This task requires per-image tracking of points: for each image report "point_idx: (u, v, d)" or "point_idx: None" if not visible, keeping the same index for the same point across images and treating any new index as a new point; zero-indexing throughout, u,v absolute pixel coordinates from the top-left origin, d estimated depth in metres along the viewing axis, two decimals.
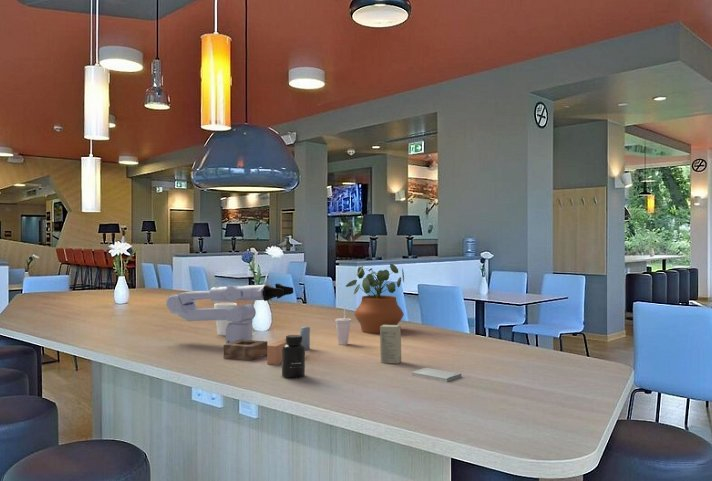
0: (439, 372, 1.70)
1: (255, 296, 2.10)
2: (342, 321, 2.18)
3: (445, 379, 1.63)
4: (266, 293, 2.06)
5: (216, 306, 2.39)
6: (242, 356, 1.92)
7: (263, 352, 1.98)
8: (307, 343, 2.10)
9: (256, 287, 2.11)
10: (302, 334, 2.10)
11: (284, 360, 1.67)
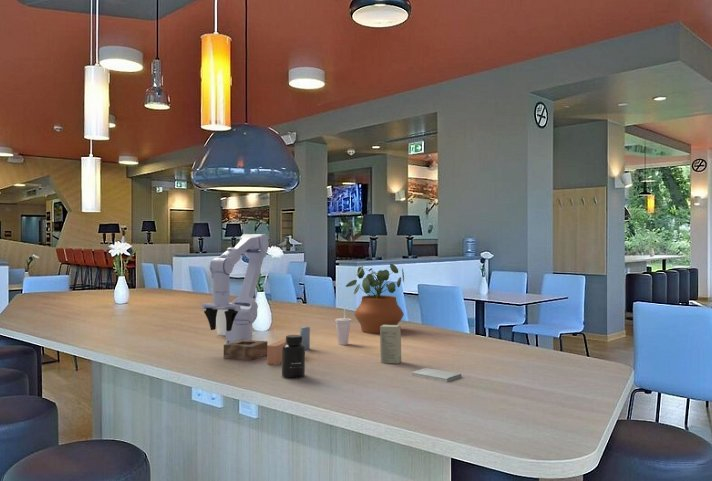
0: (439, 372, 1.70)
1: None
2: (342, 321, 2.18)
3: (445, 379, 1.63)
4: None
5: None
6: (242, 356, 1.92)
7: (263, 352, 1.98)
8: (307, 343, 2.10)
9: (213, 296, 2.00)
10: (302, 334, 2.10)
11: (284, 360, 1.67)
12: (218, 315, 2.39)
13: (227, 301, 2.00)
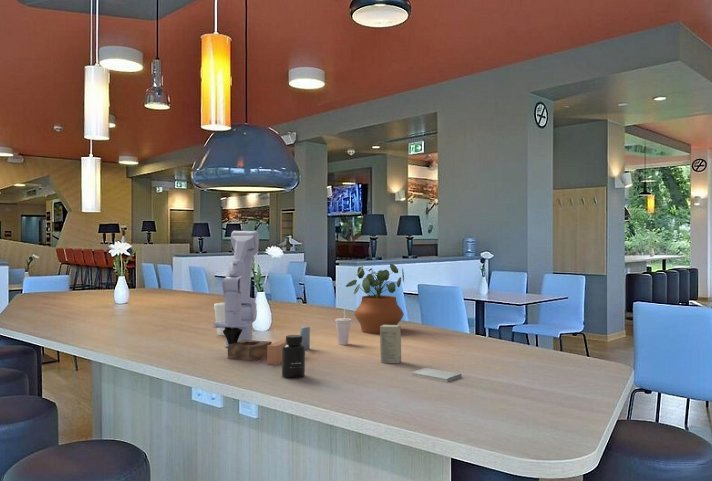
0: (439, 372, 1.70)
1: None
2: (342, 321, 2.18)
3: (445, 379, 1.63)
4: None
5: (216, 306, 2.39)
6: (246, 356, 1.91)
7: None
8: (307, 343, 2.10)
9: (224, 315, 1.98)
10: (302, 334, 2.10)
11: (284, 360, 1.67)
12: (218, 315, 2.39)
13: (239, 320, 1.98)
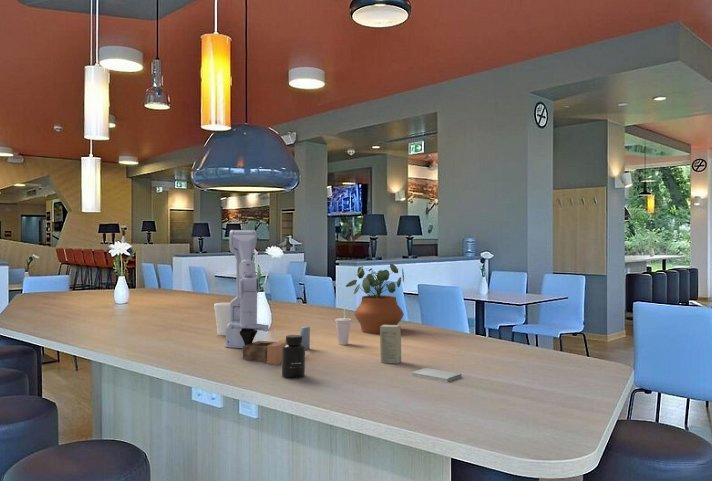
0: (439, 372, 1.70)
1: None
2: (342, 321, 2.18)
3: (445, 379, 1.63)
4: None
5: (216, 306, 2.39)
6: (262, 358, 1.90)
7: None
8: (307, 343, 2.10)
9: (240, 316, 1.96)
10: (302, 334, 2.10)
11: (284, 360, 1.67)
12: (218, 315, 2.39)
13: (255, 321, 1.96)
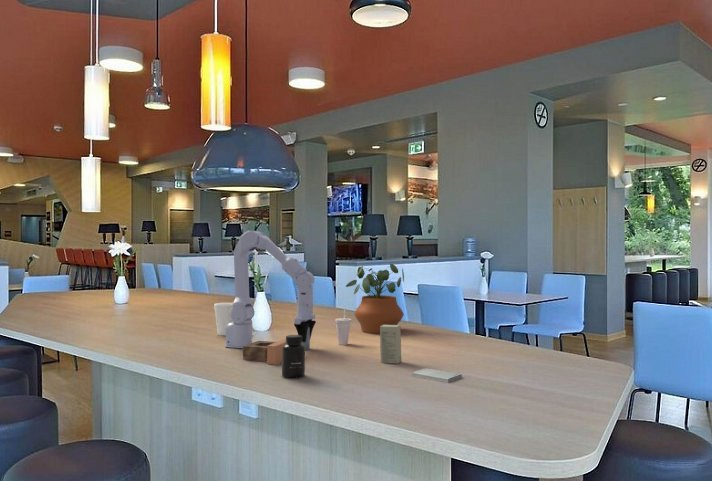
0: (439, 373, 1.70)
1: (299, 308, 2.09)
2: (342, 321, 2.18)
3: (446, 380, 1.63)
4: (301, 325, 2.08)
5: (216, 306, 2.39)
6: (262, 358, 1.90)
7: None
8: (307, 343, 2.10)
9: (308, 309, 2.09)
10: None
11: (284, 360, 1.67)
12: (218, 315, 2.39)
13: None
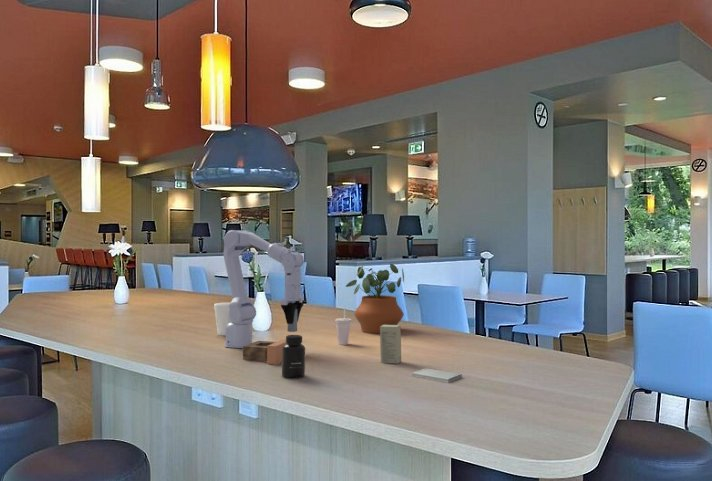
0: (439, 373, 1.70)
1: (286, 289, 2.04)
2: (342, 321, 2.18)
3: (446, 380, 1.63)
4: None
5: (216, 306, 2.39)
6: (262, 358, 1.90)
7: None
8: (294, 325, 2.05)
9: (295, 290, 2.03)
10: None
11: (284, 360, 1.67)
12: (218, 315, 2.39)
13: None
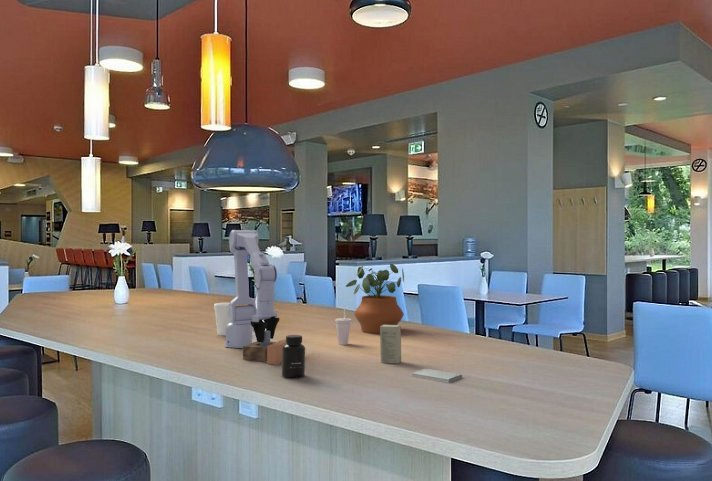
0: (440, 373, 1.69)
1: (258, 305, 1.93)
2: (342, 321, 2.18)
3: (447, 380, 1.62)
4: (258, 323, 1.91)
5: (216, 306, 2.39)
6: (262, 358, 1.90)
7: None
8: None
9: (268, 306, 1.93)
10: None
11: (284, 360, 1.67)
12: (218, 315, 2.39)
13: None
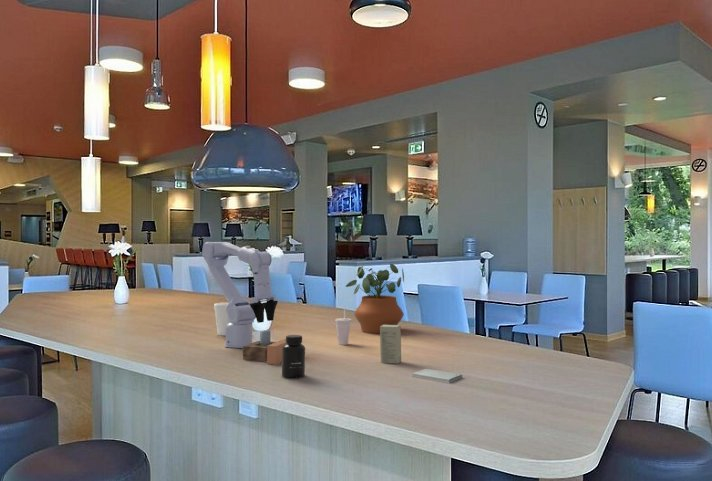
0: (440, 373, 1.69)
1: (256, 288, 2.07)
2: (342, 321, 2.18)
3: (447, 380, 1.62)
4: (257, 304, 2.04)
5: (216, 306, 2.39)
6: (262, 358, 1.90)
7: None
8: None
9: (265, 288, 2.06)
10: (262, 338, 1.94)
11: (284, 360, 1.67)
12: (218, 315, 2.39)
13: None
